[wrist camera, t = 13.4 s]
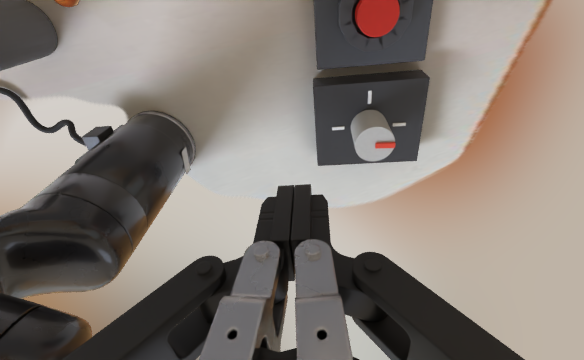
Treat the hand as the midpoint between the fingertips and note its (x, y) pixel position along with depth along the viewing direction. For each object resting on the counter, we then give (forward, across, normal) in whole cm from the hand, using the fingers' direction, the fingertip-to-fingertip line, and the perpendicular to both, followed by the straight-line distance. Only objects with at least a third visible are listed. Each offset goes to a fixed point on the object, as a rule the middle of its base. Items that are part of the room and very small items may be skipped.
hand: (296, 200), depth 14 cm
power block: (+24, -7, -6) cm, 26 cm away
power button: (+20, -7, -6) cm, 22 cm away
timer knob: (+21, -7, +6) cm, 23 cm away
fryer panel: (+24, -7, +6) cm, 26 cm away
